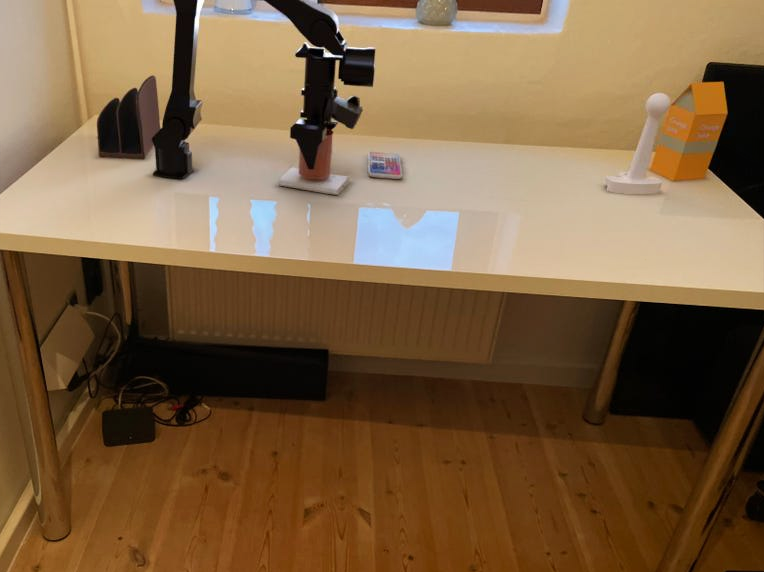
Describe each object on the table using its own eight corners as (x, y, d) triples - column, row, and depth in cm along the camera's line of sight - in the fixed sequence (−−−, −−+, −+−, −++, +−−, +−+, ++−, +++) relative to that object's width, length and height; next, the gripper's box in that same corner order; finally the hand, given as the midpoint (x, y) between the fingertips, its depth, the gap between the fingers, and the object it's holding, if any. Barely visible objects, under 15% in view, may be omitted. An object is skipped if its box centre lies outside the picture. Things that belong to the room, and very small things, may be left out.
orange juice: (649, 169, 169) (677, 78, 158) (680, 167, 171) (710, 77, 160) (673, 181, 162) (704, 87, 151) (705, 178, 165) (738, 86, 154)
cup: (294, 176, 147) (296, 134, 142) (302, 166, 152) (304, 125, 147) (326, 180, 146) (329, 138, 141) (333, 170, 151) (336, 129, 146)
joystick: (610, 193, 154) (639, 95, 143) (597, 181, 160) (623, 85, 149) (661, 194, 155) (693, 97, 144) (646, 182, 161) (675, 87, 150)
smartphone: (400, 153, 167) (403, 176, 154) (399, 157, 167) (402, 180, 155) (367, 151, 167) (367, 173, 154) (367, 155, 167) (367, 177, 155)
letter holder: (161, 133, 175) (157, 70, 167) (144, 159, 158) (140, 92, 150) (119, 130, 175) (113, 68, 167) (98, 157, 158) (91, 89, 150)
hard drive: (292, 174, 155) (348, 183, 152) (278, 186, 148) (337, 196, 145) (292, 166, 154) (349, 175, 151) (278, 178, 148) (337, 188, 144)
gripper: (351, 99, 130) (344, 184, 139) (369, 77, 145) (362, 155, 154) (290, 92, 132) (287, 176, 141) (315, 71, 147) (310, 148, 156)
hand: (314, 163), depth 148 cm, fingers closed on cup, 6 cm apart
